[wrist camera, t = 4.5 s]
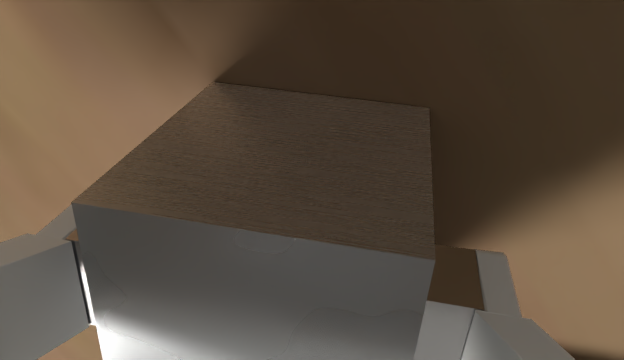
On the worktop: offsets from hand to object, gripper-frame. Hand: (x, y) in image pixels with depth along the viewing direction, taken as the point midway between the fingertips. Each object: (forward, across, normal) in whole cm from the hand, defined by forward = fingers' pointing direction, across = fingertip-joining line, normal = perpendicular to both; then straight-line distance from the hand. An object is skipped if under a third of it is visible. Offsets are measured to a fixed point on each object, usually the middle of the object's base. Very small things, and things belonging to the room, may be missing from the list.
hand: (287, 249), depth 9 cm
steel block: (+2, 0, 0) cm, 2 cm away
